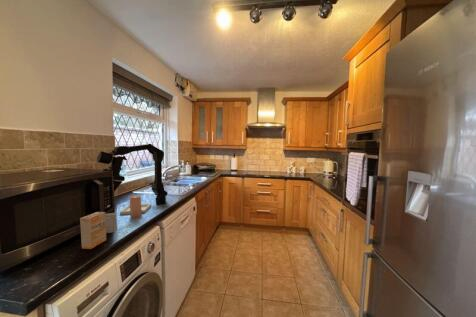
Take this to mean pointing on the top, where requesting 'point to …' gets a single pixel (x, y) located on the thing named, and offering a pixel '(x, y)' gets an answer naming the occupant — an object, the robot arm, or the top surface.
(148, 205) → the tray
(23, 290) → the top surface
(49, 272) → the top surface
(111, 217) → the medicine box
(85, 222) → the supplement box
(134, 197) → the reddish-brown tall piece
